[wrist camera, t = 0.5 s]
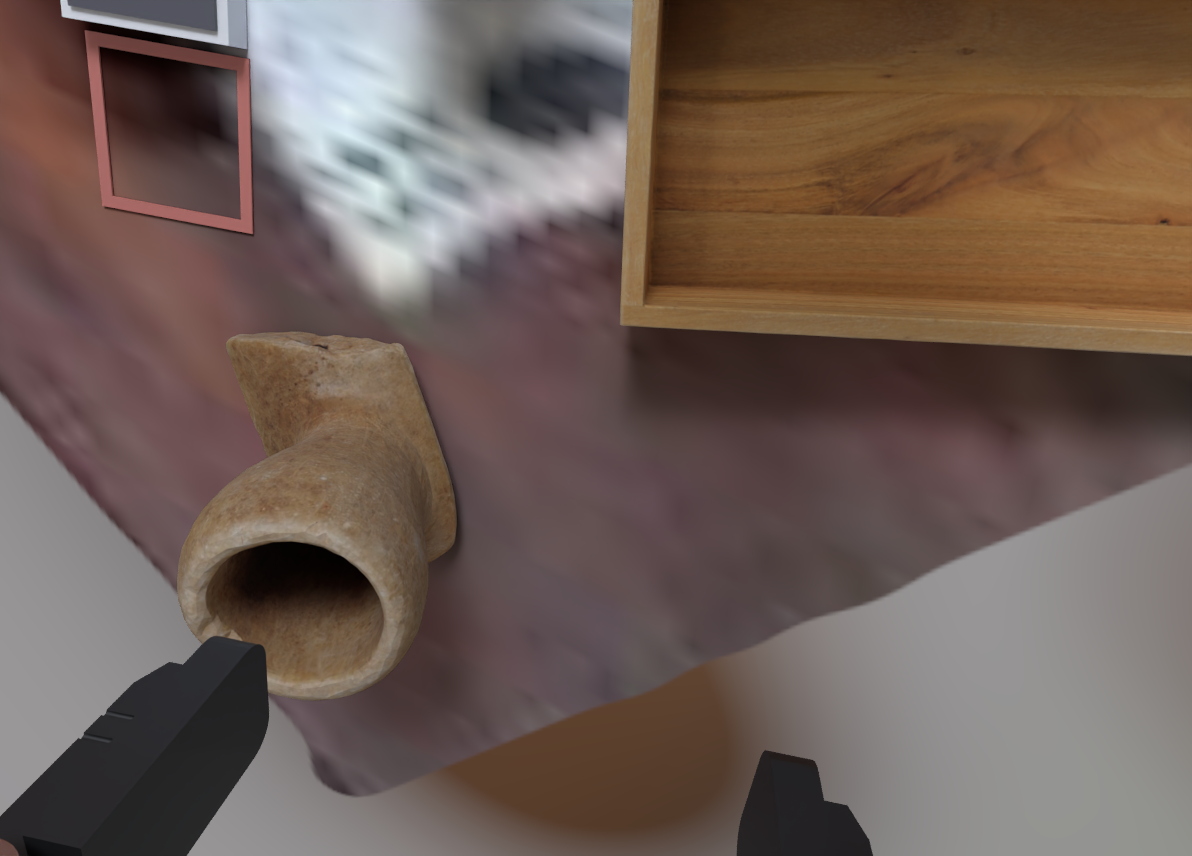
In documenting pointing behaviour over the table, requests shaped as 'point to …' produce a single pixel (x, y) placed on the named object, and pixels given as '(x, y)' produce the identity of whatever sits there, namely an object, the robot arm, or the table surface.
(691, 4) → the tray
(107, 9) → the ink pad
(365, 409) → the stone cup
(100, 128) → the marked square
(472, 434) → the table surface
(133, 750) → the robot arm
